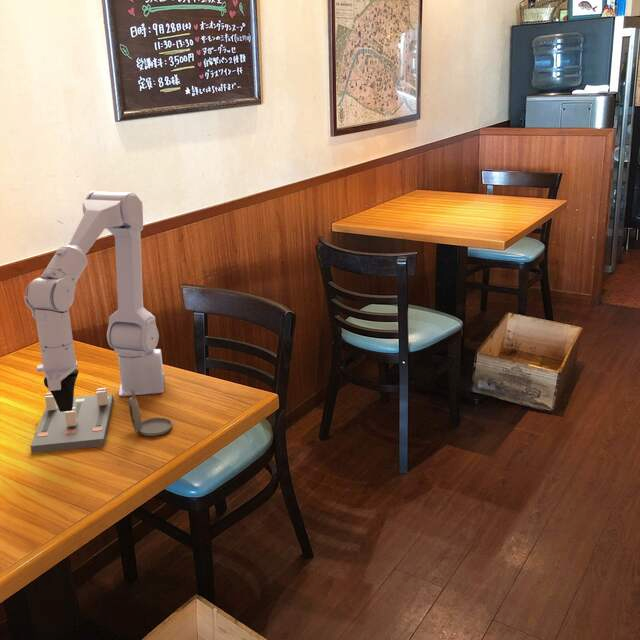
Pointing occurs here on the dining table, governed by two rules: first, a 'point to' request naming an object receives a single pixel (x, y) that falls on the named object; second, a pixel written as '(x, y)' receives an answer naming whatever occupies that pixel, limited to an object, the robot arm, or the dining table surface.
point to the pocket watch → (150, 425)
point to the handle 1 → (50, 402)
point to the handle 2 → (102, 396)
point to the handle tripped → (71, 417)
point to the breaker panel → (84, 435)
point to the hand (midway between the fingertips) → (66, 409)
